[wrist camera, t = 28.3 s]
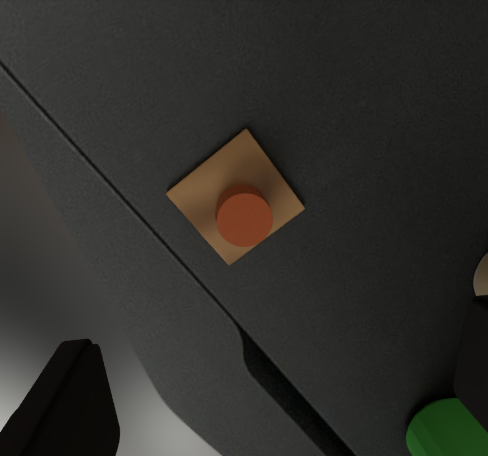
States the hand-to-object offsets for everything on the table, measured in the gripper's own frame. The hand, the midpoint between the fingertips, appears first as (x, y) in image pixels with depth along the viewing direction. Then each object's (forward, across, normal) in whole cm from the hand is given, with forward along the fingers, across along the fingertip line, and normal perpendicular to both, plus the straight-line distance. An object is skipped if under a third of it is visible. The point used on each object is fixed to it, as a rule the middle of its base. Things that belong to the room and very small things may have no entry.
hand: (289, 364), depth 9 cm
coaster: (+20, 0, +1) cm, 20 cm away
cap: (+19, 0, +1) cm, 19 cm away
